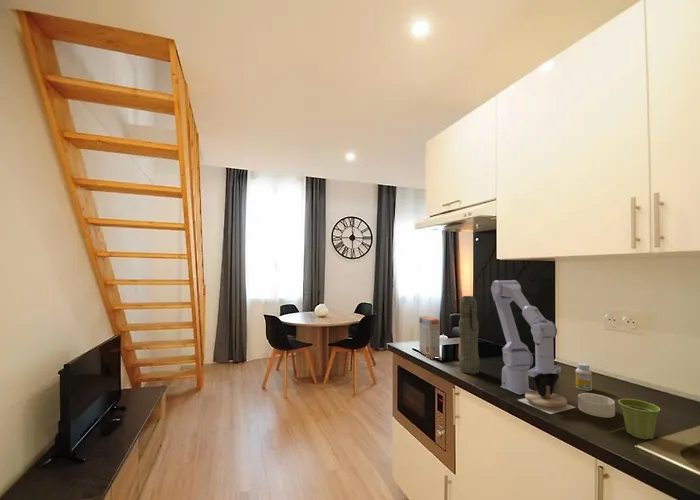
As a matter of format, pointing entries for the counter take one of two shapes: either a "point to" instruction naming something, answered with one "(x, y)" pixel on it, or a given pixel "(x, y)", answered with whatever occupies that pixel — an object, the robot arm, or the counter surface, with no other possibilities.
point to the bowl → (596, 405)
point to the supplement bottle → (583, 377)
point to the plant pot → (639, 417)
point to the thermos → (468, 335)
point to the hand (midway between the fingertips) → (545, 394)
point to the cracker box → (429, 337)
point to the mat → (547, 409)
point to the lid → (546, 398)
